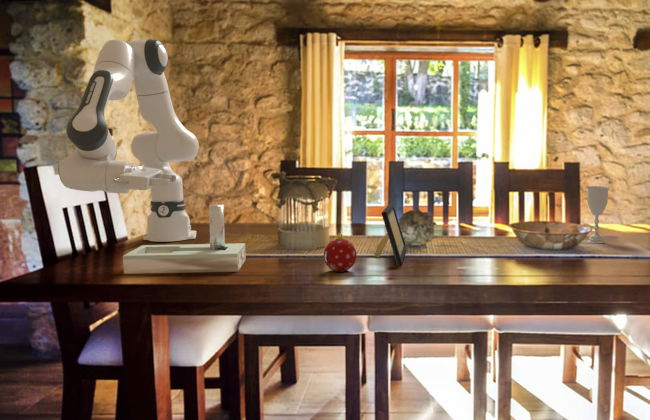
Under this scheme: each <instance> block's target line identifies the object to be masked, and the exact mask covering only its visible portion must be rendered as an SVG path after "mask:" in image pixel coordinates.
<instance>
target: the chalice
mask: <svg viewBox="0 0 650 420" xmlns="http://www.w3.org/2000/svg"><path fill="white" fill-rule="evenodd" d="M586 189H587V205H588V208H589V210H590V213H591V214H592V215H593V216H594V226H593V228H594V232H593V234H591V235H589V238H588V240H587V243H589V244H590V243H591V244H605V240H604V238H603V236H602V234H600V233H599V228H600V226H599V223H600V221H599V220H600V219H599V217H600V216H601V215H603V213H604V211H605V209H606V208H607V205H608V201H609V200H608V198H609V190H610V186H601V185H600V186H599V185H595V186H594V185H592V186H591V185H590V186H586Z"/></svg>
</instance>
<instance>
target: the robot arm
mask: <svg viewBox="0 0 650 420" xmlns="http://www.w3.org/2000/svg"><path fill="white" fill-rule="evenodd" d="M168 64H169V56H168V51H167V48H166V46H165V45H164V44H163V43H162V42H161V41H159V40H157V39H147V40H144V39H143V40H142V39H140V40H135V39H134V40H128V41H124V40H121V39H110V40H108V41H106V42H105V43H104V44H103V46H102V47H101V50H100V51H99V52H98V56H97V58H96V60H95V64H94V68H93V72H92V74H91V76H90V78H89V80H88V82H87V85H86V88H85V91H84V93H83V96H82V99H81V100H80V101H81V102H80V104H79V106H78V108H77V109H76V111H75V112H74V114H73V115H72V116H71V117H70V119H69V120H68V122H67V125H66V127H65V128H66V129H65V130H66V135H67V137H68V139H69V140H70V141H71V143H72V144H73V146H74V147H75V149H74V150H73V152H71V154H70V155H68V156H67V157H66V158H64V159H61V160H60V161H59V163H58V169H57V170H58V176H59V180H60V181H61V184H62V185H63V186H64V187H65V188H67V189H69V190H75V191H82V192H98V191H99V192H100V191H102V192H105V193H111V194H128V193H129V192H130V190H135V191H147V190H149V189H150V195H151V201H150V205H149V206H150V211H151V212H150V214H149V215H148V216H147V217H146V223H147V224H146V235H145V236H143V237H142V238H143V240H144V241H150V242H157V243H158V242H159V243H160V242H161V243H163V242H166V243H167V242H180V241H186V240H194V239H196V237H197V230H192V227H193V226H192V225H191V221H190V217H189V215H188V213H187V211H186V208H187V207H186V200H185V199H184V191H183V190H184V189H183V187H184V186H183V178H182V177H181V176H180V175H179V174H178V173H176V172H175V171H174V170H172V167H171V164H170V163H177V162H178V163H181V162H186V161H190V160H193V159H195V158H196V157H197V155H198V153H199V149H200V143H199V141H198V138H197V136H196V135H195V134H194V133H193V132H191V131H189V129H187V128H186V127H185V126H184V125H183V124H182V123H181V121H180V119H179V117H178V116H177V114H176V111H175V109H174V106H173V105H174V104H173V102H172V97H171V94H170V89H169V88H170V87H169V85H168V81H167V78H166V75H165V72H164V71H166V69H167V67H168ZM132 83H133V85H134V92H135V95H136V99H137V103H138V108H139V112H140V115H141V118H142V119H143V120H145V121H146V122H148V123H149V124H151V125H152V127H154V129H155V130H156V131H146V132H142V133H137V134H136V135H135V136H134V137H133V138H132V140H131V144H130V145H131V146H130V147H131V149H130V150H131V153H132V155H133V156H134V157H135V159H136V160H138V161H139V162H140V163H141V164H142V166H140V165H136V163H133V162H132V163H131V162H130V161H122V160H116V157H117V153H118V151H117V146H116V143H115V141H114V139H113V137H112V135H111V133H110V131H109V128H108V124H107V121H106V119H105V112H106V110H107V106H108V102H109V101H119V100H122V99H124V98H126V97H127V96H128V95H129V93H130V91H131V88H132Z"/></svg>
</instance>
